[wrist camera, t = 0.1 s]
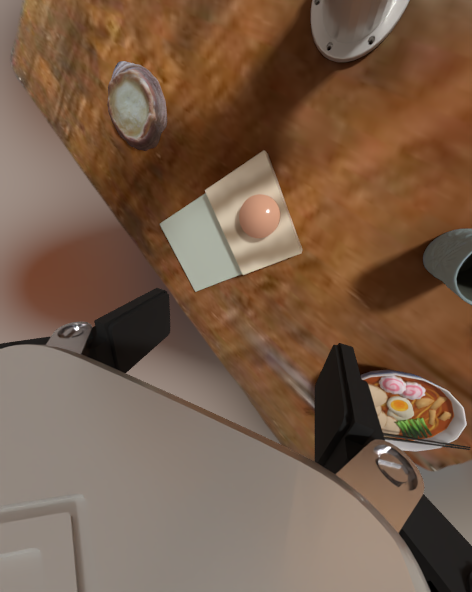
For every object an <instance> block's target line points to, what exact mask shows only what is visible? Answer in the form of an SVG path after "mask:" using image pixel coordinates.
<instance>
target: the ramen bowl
mask: <svg viewBox="0 0 472 592" xmlns="http://www.w3.org/2000/svg"><path fill="white" fill-rule="evenodd" d="M361 379H362V380H365V381H366V382H367V383H368V385H369V388H370V392H371V395H372V398H373V402H374V405H375V409H376V412H377V415H378V419H379V422H380V425H381V429H382V432H383V435H384V439H385V441H387V442H390V443H391V444H393V445H395V446H397V447H398V448H399V449H400V450H404V451H423V450H430V449H436V448H441V447H450V448H458V449H466V450H470V449H467V448H470V447H466V446H460V445H454V444H448V443H450V442H452V441H454V440H456V439H457V438H458V437H459V435H460V434H461V432H462V431H463V429H464V428H465V426H466V425H467V423H466V418H465V412H464V407H463V406H462V405H461V404H460V403H459V402H458V401H457V400H456V399H455V398H454V397H453V395H452V394H451V393H450V392H449V391H447V390H445V389H444V388H442V387H440V386H438V385H436V384H434V383H432V382H430V381H428V380H425V379H423V378H421V377H419V376H417V375H414V374H410V373H404V372H399V371H394V370H379V371H370V372H368V373H365V374H362V375H361ZM446 445H452V446H446ZM453 446H459V447H453ZM460 447H466V448H460Z"/></svg>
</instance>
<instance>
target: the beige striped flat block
mask: <svg viewBox="0 0 472 592" xmlns="http://www.w3.org/2000/svg"><path fill="white" fill-rule="evenodd" d="M205 192H206V195H207V197H208V199H209V201H210V204H211V206H212V208H213V210H214V212H215V215H216V217H217V219H218V221H219V223H220V226H221V228H222V230H223V232H224V234H225V237H226V239H227V241H228V243H229V245H230V248H231V250H232V252H233V254H234V256H235V259H236V261H237V263H238V265H239V267H240V270H241V272H242V274H243V275H245V274H247V273H250V272H253V271H255V270H258V269H261V268H263V267H266V266H269V265H271V264H274V263H277V262H279V261H282V260H285V259H287V258H290V257H293V256H295V255H298V254H301V253H302V247H301V244H300V242H299V239H298V236H297V233H296V231H295V228H294V225H293V222H292V219H291V217H290V214H289V211H288V208H287V206H286V203H285V200H284V197H283V195H282V192H281V189H280V186H279V183H278V181H277V178H276V175H275V172H274V170H273V167H272V164H271V161H270V159H269V156H268V153H267V152H266V151H265V150H264V151H262V152H261V153H259V154H258V155H256V156H255V157H253V158H252V159H250V160H249V161H247V162H246V163H244V164H243V165H241V166H240V167H239V168H237V169H236V170H234V171H233V172H231V173H230V174H228V175H227V176H225V177H224V178H222V179H221V180H219V181H218V182H216V183H215V184H213V185H212V186H210V187H209V188H208V189H206V190H205ZM257 194H262V195H267V196H270V197H272V198H273V199H274V200H275V201H276V202H277V204H278V205H279V208H280V212H281V218H280V222H279V225H278V227H277V228H276V230H275V231H274V232H273V233H271V234H270V235H269V236H267V237H264V238H253V237H251V236H249V235H247V234H246V233H245V232H244V231H243V229H242V227H241V225H240V221H239V213H240V209H241V207H242V205H243V203H244V202H245V201H246V200H247V199H248V198H249V197H251V196H253V195H257Z"/></svg>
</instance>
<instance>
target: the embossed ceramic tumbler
mask: <svg viewBox="0 0 472 592" xmlns="http://www.w3.org/2000/svg"><path fill="white" fill-rule="evenodd" d="M423 263H424V266H425V268H426V269H427V270H428V272H430V273H431V274H432V275H433V276H434V277H436V278H438V279H439V280H441V281H443V283H444V284H446V286H447V287H448V288H450V289H451V290H452V291H453V292H454V293H456V294H457V295H458V296H459V297H460V298H461V299H462V300H464V301H465V302H467V303H469V304H470V305H472V229H458V230H453V231H450V232H447V233H444V234H442V235H440V236H439V237H437V238H436V239H434V240H433V241H432V242H431V243H430V244H429V245H428V247H427V248H426V250H425V252H424V255H423Z"/></svg>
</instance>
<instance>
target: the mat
mask: <svg viewBox="0 0 472 592" xmlns="http://www.w3.org/2000/svg"><path fill="white" fill-rule="evenodd" d="M160 226H161V228H162V230H163V232H164V233H165V235H166V237H167V239H168V241H169V243H170V245H171V247H172V249H173V250H174V252H175V254H176V256H177V258H178V260H179V262H180V264H181V266H182V267H183V269H184V271H185V273H186V275H187V277H188V279H189V281H190V283H191V284H192V286H193V288H194V290H195V292H196V291H199V290H201V289H204V288H206V287H209V286H212V285H214V284H217V283H220V282H222V281H225V280H227V279H230V278H233V277H235V276H238V275H241V274H242V272H241V270H240V267H239V265H238V263H237V261H236V259H235V256H234V254H233V252H232V250H231V248H230V245H229V243H228V241H227V239H226V237H225V234H224V232H223V230H222V228H221V226H220V223H219V221H218V219H217V217H216V215H215V212H214V210H213V208H212V206H211V204H210V201H209V199H208V197H207V195H206V193H205V194H204V195H202V196H201V197H199V198H198V199H196V200H195V201H193V202H192V203H190V204H189V205H187V206H186V207H184V208H183V209H181V210H180V211H178V212H177V213H175V214H174V215H172V216H171V217H169V218H168V219H166V220H165V221H163V222H162V223H160Z"/></svg>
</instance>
